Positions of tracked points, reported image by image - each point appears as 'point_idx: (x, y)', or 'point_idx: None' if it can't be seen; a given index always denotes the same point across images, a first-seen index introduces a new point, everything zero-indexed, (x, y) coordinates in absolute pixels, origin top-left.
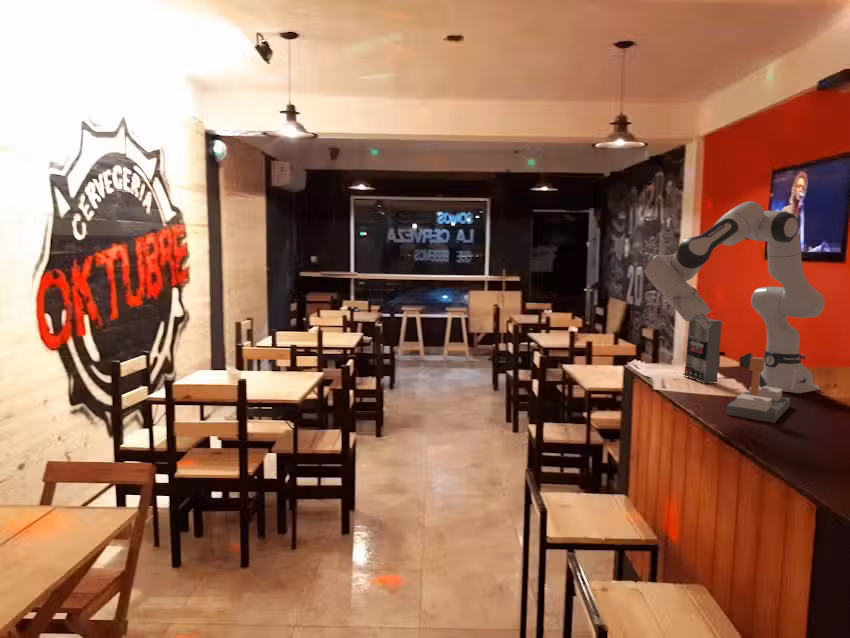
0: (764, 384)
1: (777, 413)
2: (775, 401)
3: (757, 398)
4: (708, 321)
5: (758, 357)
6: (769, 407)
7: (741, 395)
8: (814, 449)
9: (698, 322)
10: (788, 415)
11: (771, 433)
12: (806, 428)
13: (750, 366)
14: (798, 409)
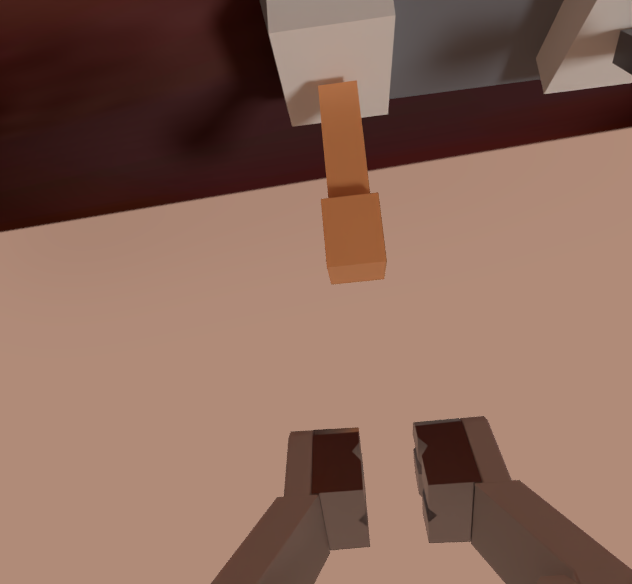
0: (616, 61)
1: None
2: (525, 54)
3: None
4: (452, 535)
5: (382, 270)
6: None
7: (345, 30)
8: (112, 186)
9: (232, 568)
10: None
11: (137, 111)
12: (300, 137)
13: (323, 222)
14: None
